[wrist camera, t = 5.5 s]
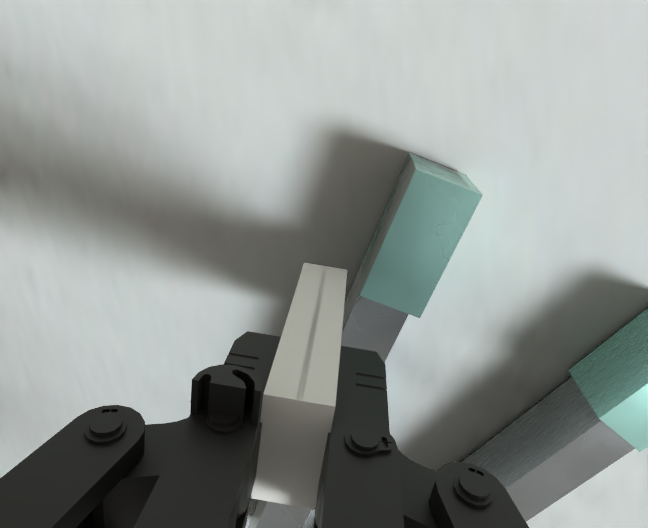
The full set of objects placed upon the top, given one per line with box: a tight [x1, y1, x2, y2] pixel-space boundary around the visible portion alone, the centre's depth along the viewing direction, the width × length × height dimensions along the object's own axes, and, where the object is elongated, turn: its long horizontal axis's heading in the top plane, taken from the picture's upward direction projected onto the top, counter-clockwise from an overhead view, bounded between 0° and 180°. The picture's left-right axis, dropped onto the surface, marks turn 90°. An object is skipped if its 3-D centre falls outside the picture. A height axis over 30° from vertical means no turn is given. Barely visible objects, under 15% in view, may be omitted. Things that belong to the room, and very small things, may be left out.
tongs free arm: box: [248, 153, 482, 528], centre depth 17 cm, size 18×2×3 cm, turn 160°
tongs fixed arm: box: [462, 309, 648, 522], centre depth 18 cm, size 21×4×3 cm, turn 141°
